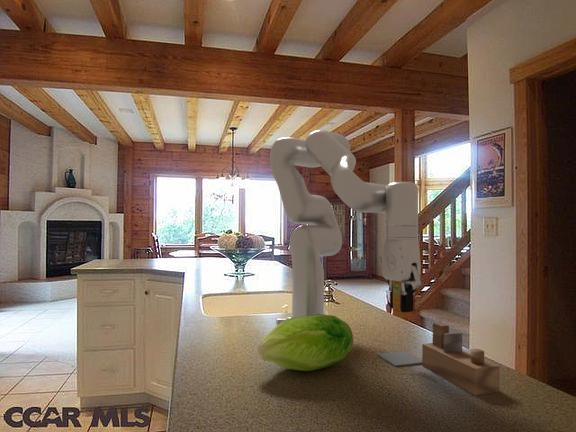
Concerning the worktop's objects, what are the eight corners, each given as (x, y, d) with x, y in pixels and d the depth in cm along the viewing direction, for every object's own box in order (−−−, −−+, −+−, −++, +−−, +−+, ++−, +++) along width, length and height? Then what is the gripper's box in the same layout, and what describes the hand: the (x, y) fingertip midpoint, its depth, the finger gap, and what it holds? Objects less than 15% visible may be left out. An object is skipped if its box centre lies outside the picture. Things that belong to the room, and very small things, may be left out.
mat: (395, 366, 90) (395, 365, 90) (377, 355, 97) (377, 353, 97) (425, 363, 92) (425, 361, 92) (405, 352, 100) (405, 351, 100)
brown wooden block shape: (474, 395, 76) (475, 342, 76) (422, 365, 91) (422, 322, 91) (499, 391, 77) (499, 340, 78) (443, 363, 93) (444, 320, 93)
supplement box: (391, 315, 96) (391, 274, 96) (402, 314, 97) (402, 273, 97) (400, 318, 93) (400, 275, 93) (412, 317, 94) (412, 274, 94)
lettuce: (248, 366, 89) (249, 314, 89) (335, 353, 98) (335, 306, 98) (270, 389, 77) (271, 329, 77) (366, 372, 87) (367, 318, 87)
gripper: (370, 232, 102) (370, 303, 102) (408, 234, 86) (408, 318, 86) (395, 232, 104) (395, 302, 104) (437, 234, 89) (437, 316, 88)
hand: (401, 308), depth 95 cm, fingers closed on supplement box, 3 cm apart
